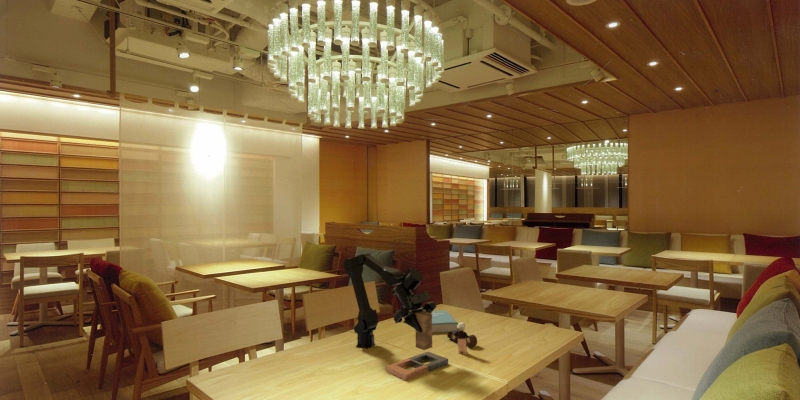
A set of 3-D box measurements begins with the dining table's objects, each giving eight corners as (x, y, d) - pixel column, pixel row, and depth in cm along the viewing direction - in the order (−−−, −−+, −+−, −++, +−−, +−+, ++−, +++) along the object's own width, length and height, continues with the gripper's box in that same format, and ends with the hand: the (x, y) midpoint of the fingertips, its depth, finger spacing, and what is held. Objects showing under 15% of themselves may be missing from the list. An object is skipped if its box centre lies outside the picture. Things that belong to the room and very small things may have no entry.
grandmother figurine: (472, 352, 170) (471, 322, 170) (469, 355, 166) (469, 324, 166) (454, 350, 173) (453, 320, 173) (451, 353, 169) (450, 322, 169)
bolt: (450, 342, 188) (474, 350, 176) (443, 339, 186) (467, 346, 174) (455, 330, 190) (478, 337, 178) (447, 326, 188) (471, 333, 176)
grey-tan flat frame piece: (405, 380, 143) (405, 375, 143) (385, 371, 152) (385, 366, 152) (448, 364, 158) (448, 358, 158) (428, 356, 166) (428, 351, 166)
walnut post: (423, 350, 154) (423, 315, 154) (415, 347, 157) (415, 313, 158) (432, 347, 157) (431, 313, 157) (424, 344, 160) (423, 311, 161)
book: (418, 321, 219) (418, 311, 219) (447, 319, 221) (447, 310, 221) (425, 334, 197) (425, 323, 197) (458, 332, 198) (458, 322, 198)
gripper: (398, 288, 154) (418, 323, 146) (432, 281, 167) (453, 314, 158) (385, 305, 160) (404, 340, 152) (419, 297, 172) (439, 330, 164)
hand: (426, 330), depth 156 cm, fingers closed on walnut post, 4 cm apart
